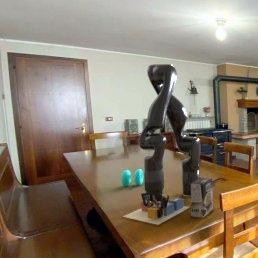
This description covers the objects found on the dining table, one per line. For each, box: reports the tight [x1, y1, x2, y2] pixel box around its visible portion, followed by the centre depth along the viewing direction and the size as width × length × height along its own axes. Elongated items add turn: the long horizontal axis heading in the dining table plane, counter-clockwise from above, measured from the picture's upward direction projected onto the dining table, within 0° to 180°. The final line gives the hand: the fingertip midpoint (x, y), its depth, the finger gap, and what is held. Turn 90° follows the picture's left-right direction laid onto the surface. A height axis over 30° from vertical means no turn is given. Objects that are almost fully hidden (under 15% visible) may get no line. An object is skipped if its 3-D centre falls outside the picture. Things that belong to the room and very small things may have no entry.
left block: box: [140, 200, 155, 212], centre depth 118 cm, size 4×4×4 cm
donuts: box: [121, 168, 144, 187], centre depth 152 cm, size 10×10×10 cm
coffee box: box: [190, 177, 214, 218], centre depth 115 cm, size 9×6×16 cm
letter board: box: [122, 205, 190, 226], centre depth 116 cm, size 19×21×1 cm
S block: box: [147, 205, 164, 220], centre depth 108 cm, size 4×4×4 cm
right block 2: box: [168, 197, 184, 211], centre depth 120 cm, size 4×4×4 cm
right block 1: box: [163, 201, 174, 216], centre depth 114 cm, size 4×4×4 cm
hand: (155, 216), depth 108 cm, fingers closed on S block, 4 cm apart
